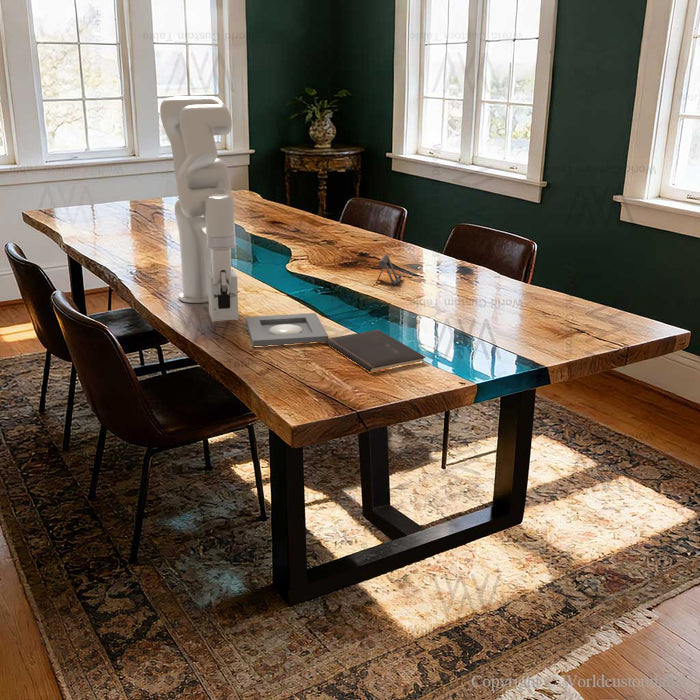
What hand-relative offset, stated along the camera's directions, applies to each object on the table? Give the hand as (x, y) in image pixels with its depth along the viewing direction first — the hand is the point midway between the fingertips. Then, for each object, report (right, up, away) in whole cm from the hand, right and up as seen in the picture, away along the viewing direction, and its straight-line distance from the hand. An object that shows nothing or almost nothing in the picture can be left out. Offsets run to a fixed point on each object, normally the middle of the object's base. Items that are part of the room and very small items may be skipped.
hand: (223, 302), depth 219 cm
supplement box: (0, -4, +2) cm, 4 cm away
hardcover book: (+41, -15, -15) cm, 46 cm away
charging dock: (+17, -8, -1) cm, 19 cm away
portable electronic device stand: (+48, +10, +48) cm, 69 cm away
